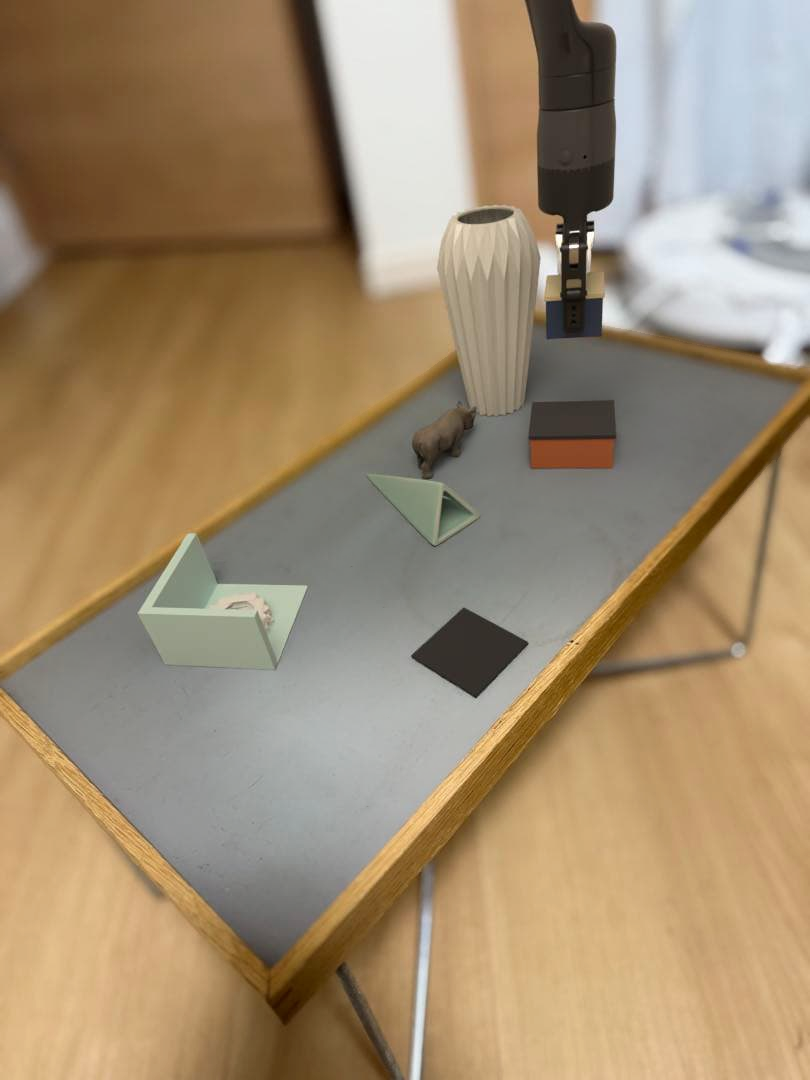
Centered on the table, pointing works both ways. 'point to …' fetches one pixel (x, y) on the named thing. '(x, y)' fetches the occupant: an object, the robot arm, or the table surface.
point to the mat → (469, 651)
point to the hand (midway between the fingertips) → (574, 318)
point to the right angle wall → (217, 615)
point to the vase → (491, 302)
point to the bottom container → (572, 434)
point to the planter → (427, 505)
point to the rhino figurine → (442, 436)
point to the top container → (591, 306)
